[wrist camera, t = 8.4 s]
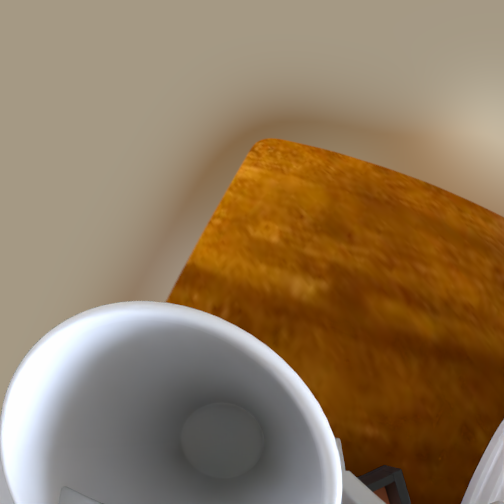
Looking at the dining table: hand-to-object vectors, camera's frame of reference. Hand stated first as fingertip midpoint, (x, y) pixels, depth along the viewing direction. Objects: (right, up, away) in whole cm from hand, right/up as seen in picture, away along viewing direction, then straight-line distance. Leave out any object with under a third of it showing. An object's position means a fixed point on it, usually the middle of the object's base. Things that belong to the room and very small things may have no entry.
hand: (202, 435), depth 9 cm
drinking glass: (0, -5, +7) cm, 9 cm away
